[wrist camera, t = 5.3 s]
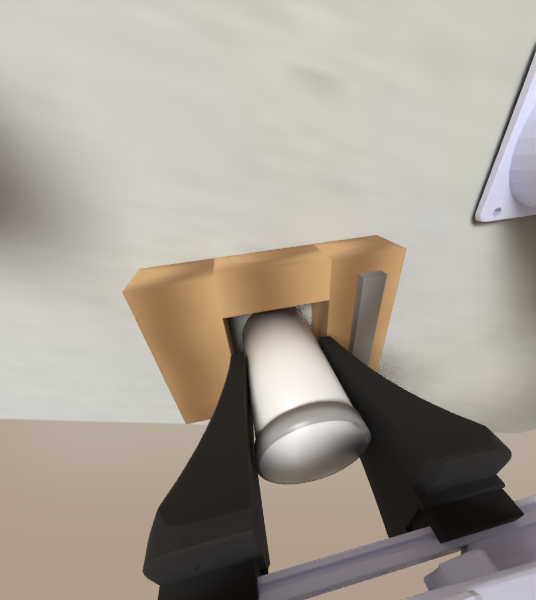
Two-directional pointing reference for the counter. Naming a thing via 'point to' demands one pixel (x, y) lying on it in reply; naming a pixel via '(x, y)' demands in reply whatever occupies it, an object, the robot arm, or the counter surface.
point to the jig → (261, 307)
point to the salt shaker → (297, 402)
